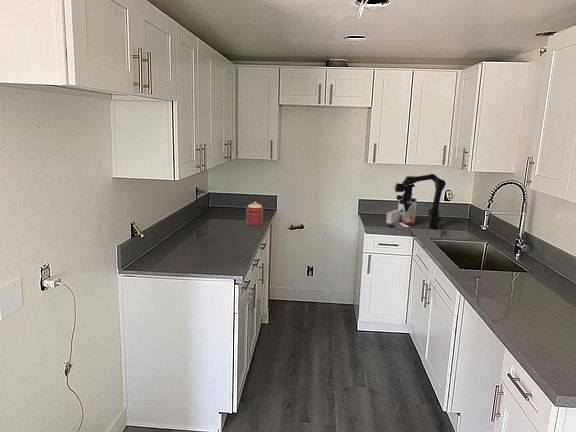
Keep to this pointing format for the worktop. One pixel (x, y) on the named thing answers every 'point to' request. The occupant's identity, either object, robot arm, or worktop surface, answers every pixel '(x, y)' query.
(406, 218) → the cracker box
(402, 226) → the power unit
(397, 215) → the beige block
